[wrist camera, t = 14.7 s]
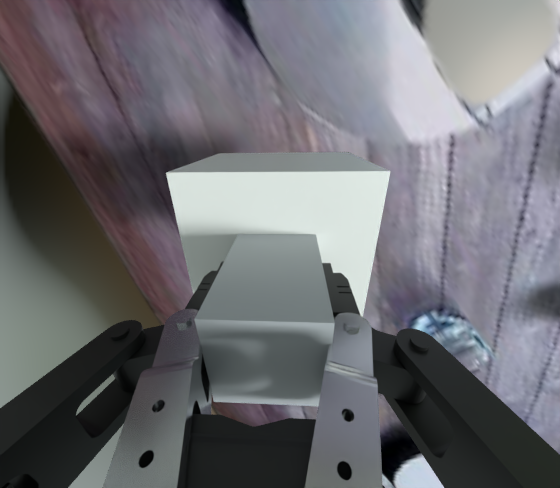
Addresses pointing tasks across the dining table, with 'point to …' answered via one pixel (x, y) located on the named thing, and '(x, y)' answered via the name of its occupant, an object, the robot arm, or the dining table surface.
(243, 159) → the white grey stepped block
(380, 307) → the dining table surface
